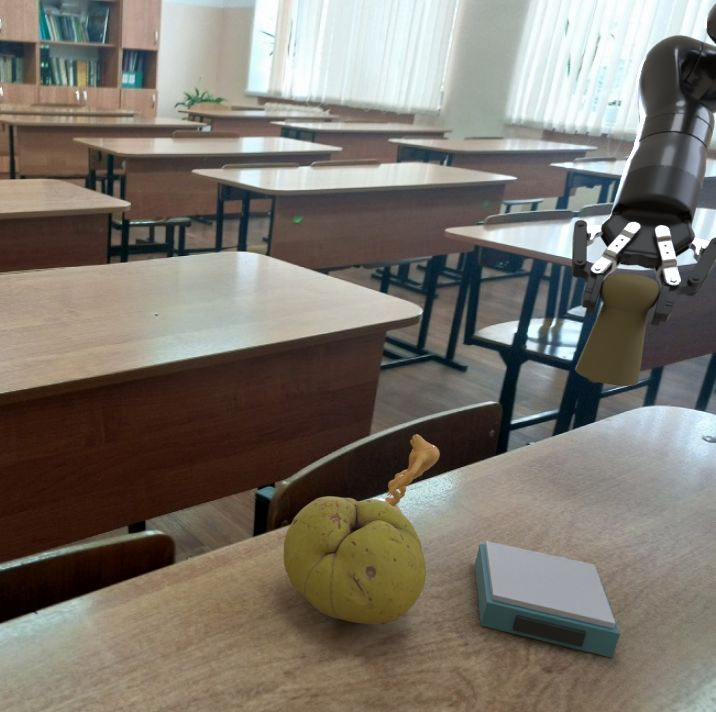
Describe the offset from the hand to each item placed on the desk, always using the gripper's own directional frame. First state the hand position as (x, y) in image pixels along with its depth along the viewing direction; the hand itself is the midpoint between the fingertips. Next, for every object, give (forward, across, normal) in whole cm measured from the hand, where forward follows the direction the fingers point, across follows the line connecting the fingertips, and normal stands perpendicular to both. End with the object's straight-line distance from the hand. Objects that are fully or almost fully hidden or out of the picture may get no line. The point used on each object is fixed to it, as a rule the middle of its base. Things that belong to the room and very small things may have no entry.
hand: (623, 315), depth 75 cm
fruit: (+39, -14, -8) cm, 42 cm away
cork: (+4, 0, +6) cm, 8 cm away
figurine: (+30, -14, +1) cm, 33 cm away
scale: (+31, 0, -1) cm, 31 cm away
